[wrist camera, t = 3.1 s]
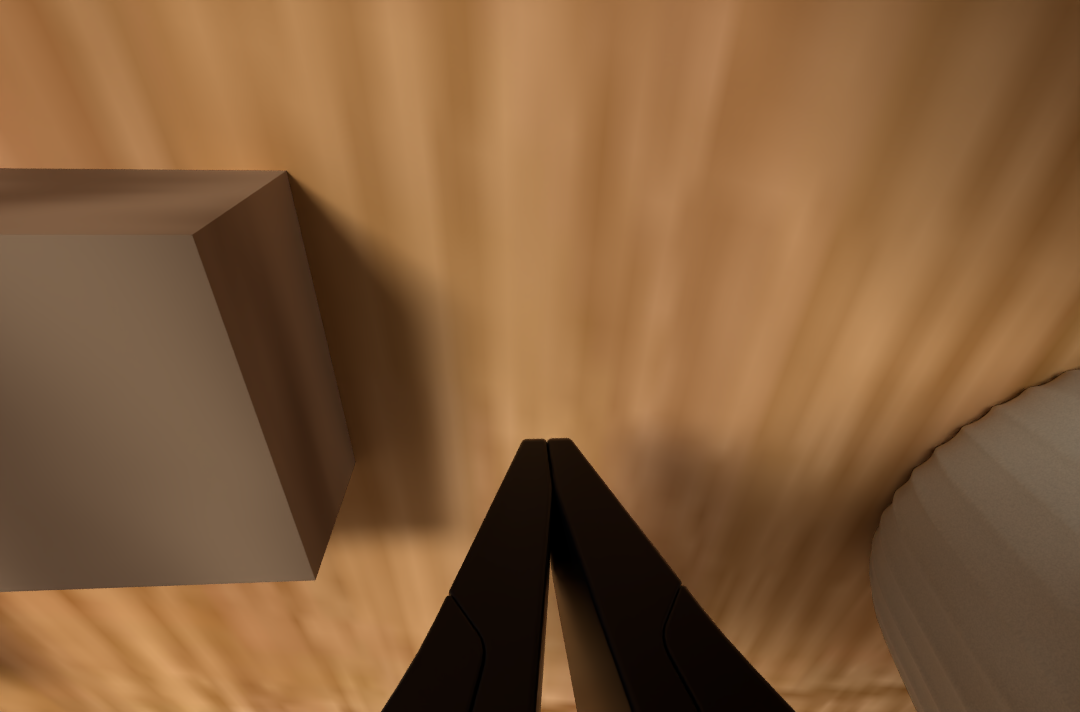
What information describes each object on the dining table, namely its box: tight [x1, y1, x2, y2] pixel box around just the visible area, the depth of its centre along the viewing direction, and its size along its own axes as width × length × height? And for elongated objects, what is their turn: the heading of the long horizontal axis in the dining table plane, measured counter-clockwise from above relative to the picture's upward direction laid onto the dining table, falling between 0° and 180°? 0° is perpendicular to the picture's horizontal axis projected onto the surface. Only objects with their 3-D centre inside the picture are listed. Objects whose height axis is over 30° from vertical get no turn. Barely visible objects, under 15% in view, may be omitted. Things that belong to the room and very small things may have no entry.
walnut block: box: [0, 168, 355, 592], centre depth 11 cm, size 10×8×4 cm
